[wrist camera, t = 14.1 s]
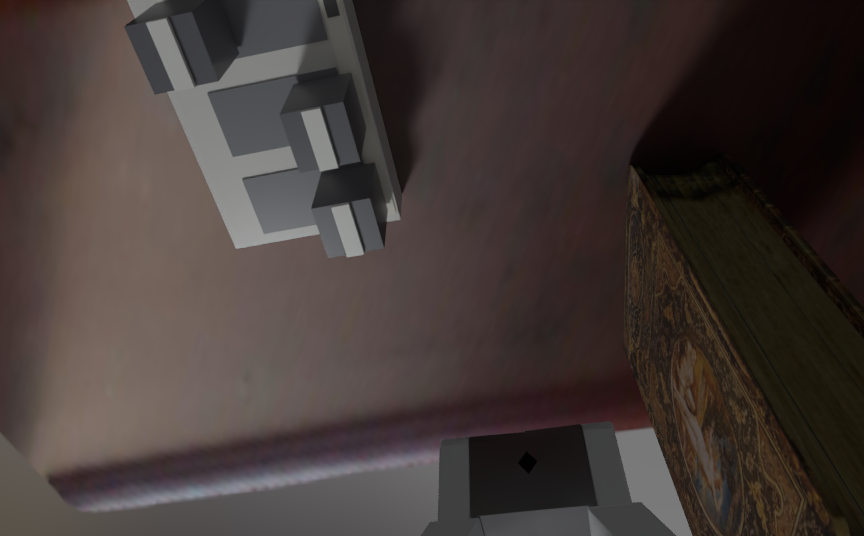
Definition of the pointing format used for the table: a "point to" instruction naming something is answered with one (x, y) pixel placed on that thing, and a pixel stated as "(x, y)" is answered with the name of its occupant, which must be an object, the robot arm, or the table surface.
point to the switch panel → (276, 114)
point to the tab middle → (324, 123)
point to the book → (743, 357)
